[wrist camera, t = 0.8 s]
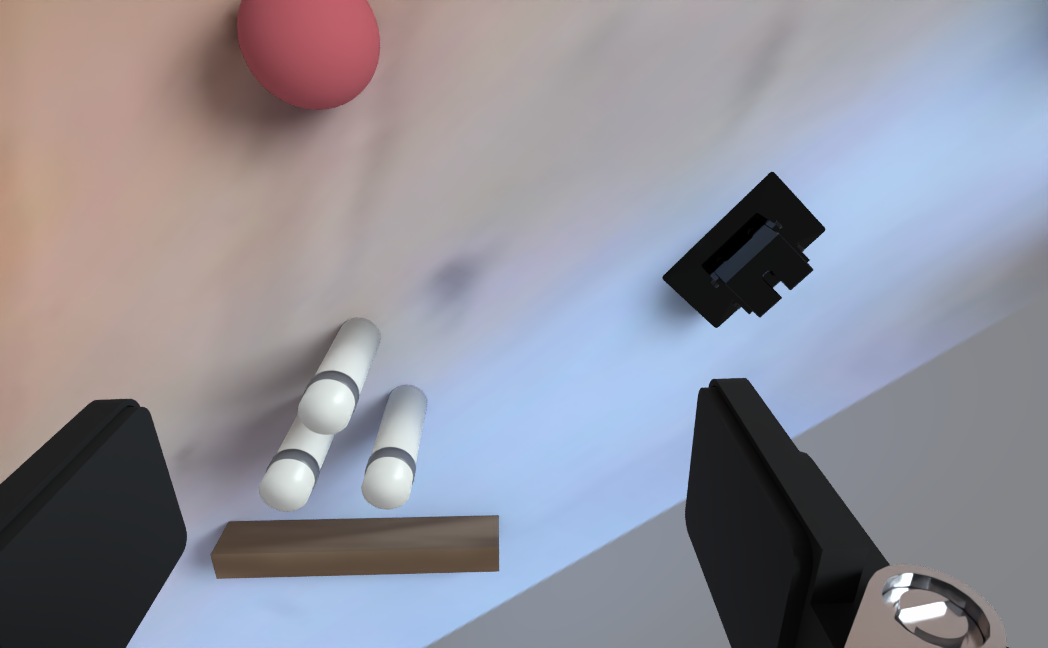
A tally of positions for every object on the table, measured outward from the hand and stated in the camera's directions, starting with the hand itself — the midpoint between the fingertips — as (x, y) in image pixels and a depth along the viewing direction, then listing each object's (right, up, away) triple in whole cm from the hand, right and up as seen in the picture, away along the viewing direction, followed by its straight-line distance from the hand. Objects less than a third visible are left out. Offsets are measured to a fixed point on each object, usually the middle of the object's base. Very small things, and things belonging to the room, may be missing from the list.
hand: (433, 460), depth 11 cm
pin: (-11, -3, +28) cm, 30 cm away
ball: (-8, +15, +17) cm, 24 cm away
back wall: (-9, -12, +32) cm, 36 cm away
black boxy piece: (+14, +7, +26) cm, 30 cm away
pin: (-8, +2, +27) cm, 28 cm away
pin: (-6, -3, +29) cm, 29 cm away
